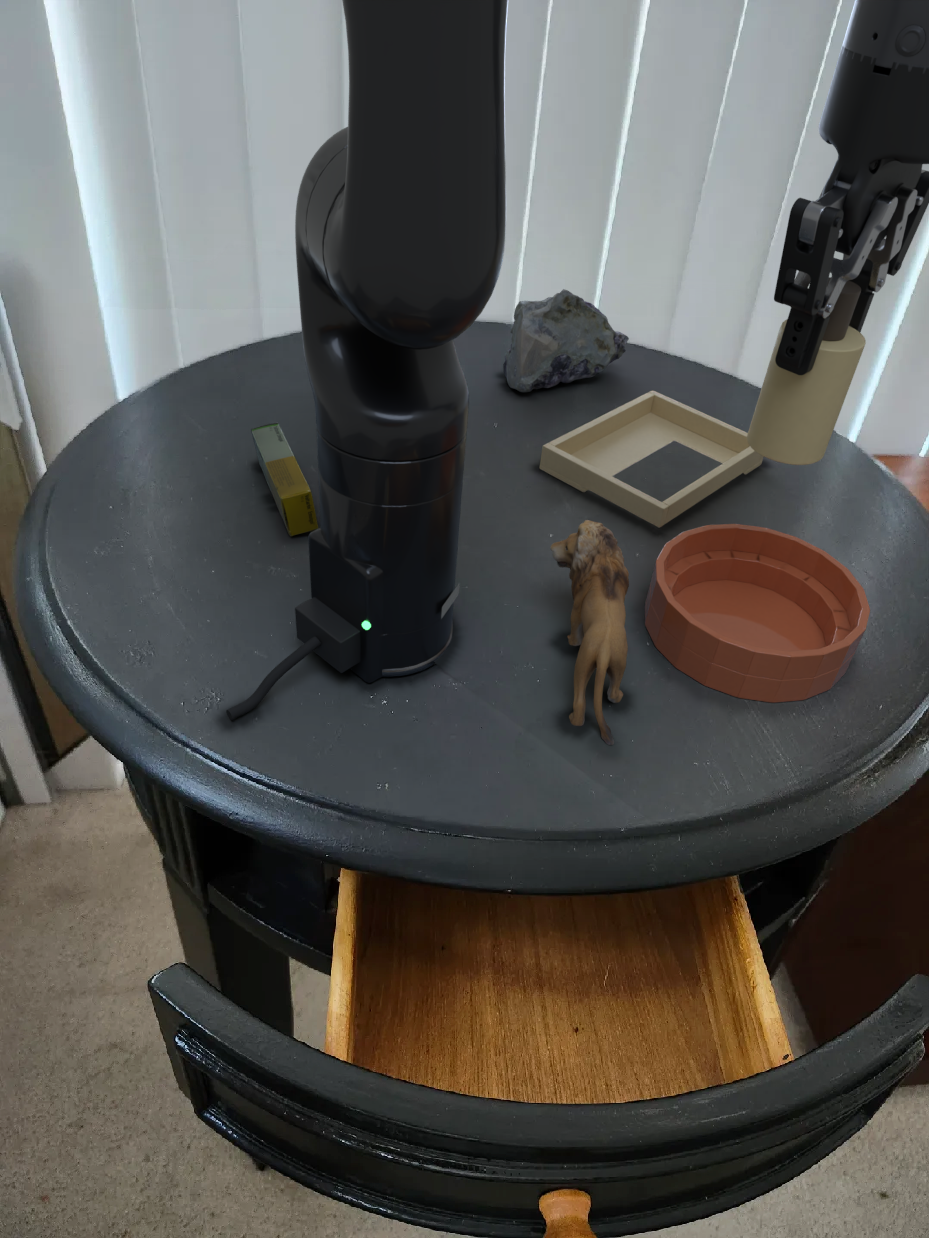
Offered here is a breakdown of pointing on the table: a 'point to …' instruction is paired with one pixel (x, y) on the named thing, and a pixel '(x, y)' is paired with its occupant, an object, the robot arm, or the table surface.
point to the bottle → (808, 392)
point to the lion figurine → (596, 615)
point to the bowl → (755, 612)
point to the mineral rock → (559, 342)
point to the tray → (647, 453)
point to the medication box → (285, 479)
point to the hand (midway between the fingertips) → (814, 356)
